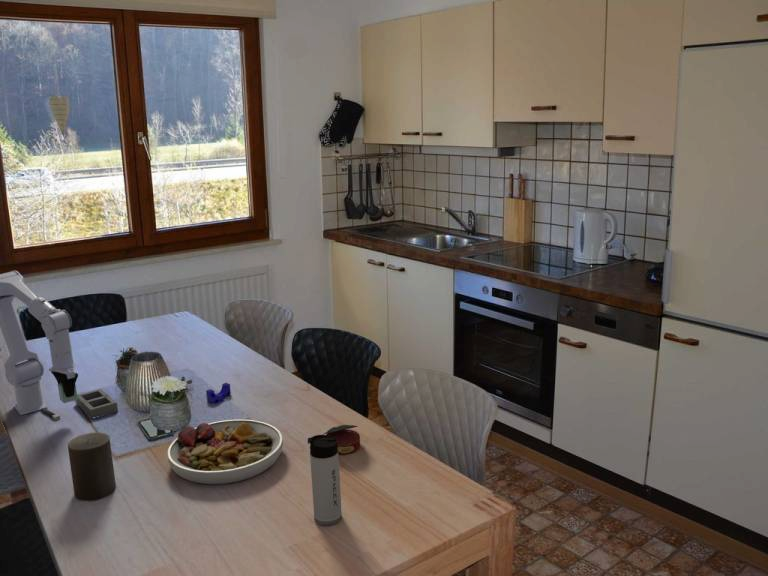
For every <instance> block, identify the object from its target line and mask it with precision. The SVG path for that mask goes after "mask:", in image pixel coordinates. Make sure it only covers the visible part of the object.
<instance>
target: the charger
mask: <svg viewBox="0 0 768 576" xmlns="http://www.w3.org/2000/svg"><path fill="white" fill-rule="evenodd" d="M57 388H58V395H59V400H60V401H61V402H62V403H63V404H67V403H69V402H74V401H76V400H78V398H77V395H78V392H77V386H76V384H75V391H74V396H71V397H68V398H67V397H66V395H65V393H64V390H63V387H62V385H61V383H60V384H58V383H57Z"/></svg>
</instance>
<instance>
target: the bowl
mask: <svg viewBox="0 0 768 576" xmlns="http://www.w3.org/2000/svg"><path fill="white" fill-rule="evenodd" d="M283 439H284V438H283V434H282V432H281V431H280V430H279V429H278V428H277V427H276V426H274V425H271V424H270V423H267V422H264V421H259V420H253V419H226V420H219V421H215V422H209V423H208V422H207V423H205V422H202V423H200V424H198V425H197V427H192V426H186V427H183V429H182V430H181V431H180V432H178V434H177V437H176V438H175V439H174V440H173V441H172V442H171V443H170V444H169V447H168V448H167V452H166V455H167V461H168V464H169V466H170V468H171V469H172V471H174V473H175V474H177V475H178V476H179V477H181V478H182V479H184V480H187V481H189V482H193V483H196V484H204V485H207V484H208V485H224V484H231V483H236V482H241V481H243V480H244V481H245V480H247V479H250V478H253V477H255V476H258V475H259V474H261V473H263V472H265V471H266V470H268V469H269V468H270V467H271V466H273V465H274V464H275V463H276V461H277V460H278V458H280V455H281V454H282V451H283V446H284V440H283Z"/></svg>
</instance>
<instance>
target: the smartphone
mask: <svg viewBox="0 0 768 576" xmlns="http://www.w3.org/2000/svg"><path fill="white" fill-rule="evenodd" d="M150 418H151V417H150ZM150 418H146V419H142V420H138V421H137V425H138V427H139V428H140V430H141V431H142V433H143V434H144V436H145V437H146V438H147V440H148V441H149V442H150V441H156V440H160V439H164V438H168V437H171V436H174V434H175V431H174V429H172V430H159V429H157V428H156V427H154V426H153V424H152V422H151V419H150Z"/></svg>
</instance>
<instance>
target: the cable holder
mask: <svg viewBox="0 0 768 576" xmlns="http://www.w3.org/2000/svg"><path fill="white" fill-rule="evenodd" d="M205 392H206V400H207V403H210V404H213V405H216V404H218V403H220V402H223V401H225V398H226V397H229V396H231V395H232V392H231V383H228V382H224V383H222V384H221V389H220V390H219V392H218V393H216V392H215V390H213V389H210V388H209V389H207V390H206V391H205Z"/></svg>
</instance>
